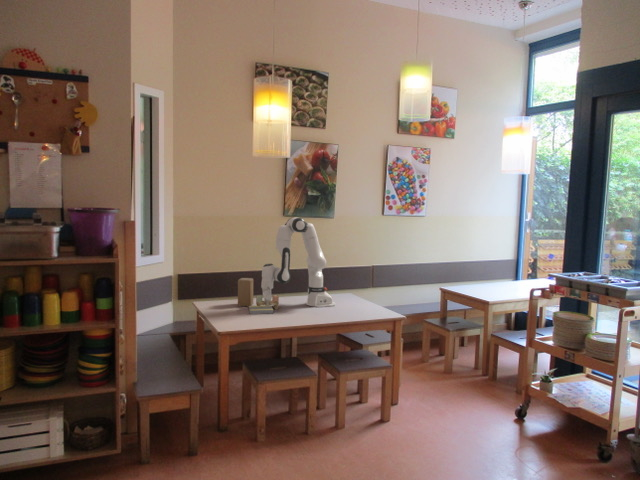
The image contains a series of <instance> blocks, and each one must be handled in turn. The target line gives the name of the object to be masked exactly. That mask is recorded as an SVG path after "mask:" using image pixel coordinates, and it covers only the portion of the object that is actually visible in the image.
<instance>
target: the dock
mask: <svg viewBox="0 0 640 480" xmlns="http://www.w3.org/2000/svg"><path fill="white" fill-rule="evenodd" d="M248 311H249V314H250V315H258V314H259V315H260V314H261V315H263V314H265V315H266V314H274V309H273V307H272V305H261V306H257V305H251V306H248Z"/></svg>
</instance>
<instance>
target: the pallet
mask: <svg viewBox="0 0 640 480" xmlns="http://www.w3.org/2000/svg"><path fill="white" fill-rule="evenodd" d="M255 304H256V306H263V305H266V301H265V300H262V302H256V301H255ZM269 305H271V306H273V308H274V309H275V310H277V309H279V305H280V301H279V302H273V301H272V299H271V301H269Z"/></svg>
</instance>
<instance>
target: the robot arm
mask: <svg viewBox="0 0 640 480" xmlns="http://www.w3.org/2000/svg"><path fill="white" fill-rule="evenodd" d="M294 233H300V234H301V236H302V240H303V244H304V248H305V250H306V252H307V254H308V255H307V256H306V264H307V272H308V286H307V300H306V304H305V305H307V306H310V307H315V308H323V307H335V306H336V302H335V301H334V300H333V297H332V296H331V295H330V294H329V293H328V292H327V290H328V288H327V287H325V286H324V274H323V270H324V269H325V268H326V267H327V262H328V261H327V259H326V257H325V255H324V251H323V250H322V248H321V245H320V241H319V237H318V234H317V231H316V228H315V225H314V224H313V223H312V222H307V221H306V220H305V219H303V218H302V217H297V216H295V217H290V218H289V219H287V221H286V222H285V224H282V225H279V227H278V229H277V233H276V237H275V238H276V239H275V249H276V250H277V251H278V253H279V255H280V257H281V261H280V262H281V263H280V267H278V266H276V265H274V264H273V263H265V264H264V265H263V266H262V268H261V269H262V270H261V285H260V287H261V290H262V297H263V298H264V299H263V301H266V305H269V301H271V300H272V289H274V282H275V281H276V282H278V283H280V284H282V285H285V284H288V283H289V282H290V280H291V276H292V275H291V270H290V267H291V266H290V265H291V241H292V236H293V234H294Z"/></svg>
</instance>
